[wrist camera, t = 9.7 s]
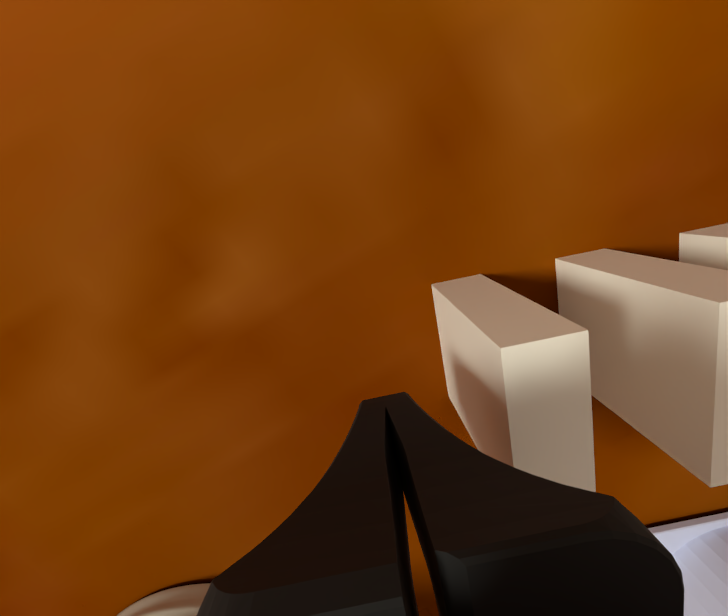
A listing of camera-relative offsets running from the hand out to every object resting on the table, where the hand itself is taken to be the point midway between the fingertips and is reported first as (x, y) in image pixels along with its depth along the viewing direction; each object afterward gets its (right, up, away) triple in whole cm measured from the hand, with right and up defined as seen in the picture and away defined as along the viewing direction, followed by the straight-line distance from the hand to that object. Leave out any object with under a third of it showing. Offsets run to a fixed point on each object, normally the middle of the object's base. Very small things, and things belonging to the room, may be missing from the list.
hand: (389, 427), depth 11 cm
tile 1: (+3, +2, +5) cm, 6 cm away
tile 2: (+8, +3, +5) cm, 10 cm away
